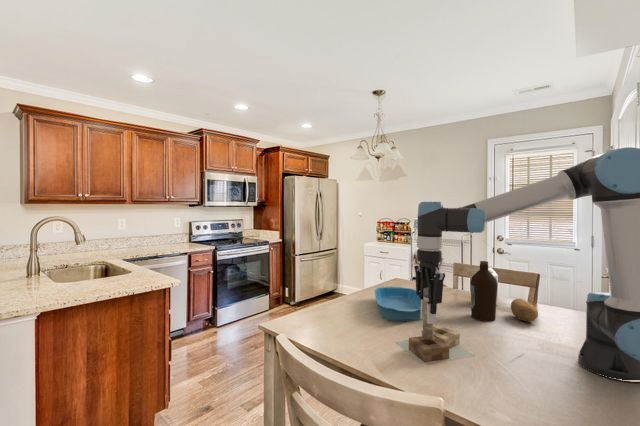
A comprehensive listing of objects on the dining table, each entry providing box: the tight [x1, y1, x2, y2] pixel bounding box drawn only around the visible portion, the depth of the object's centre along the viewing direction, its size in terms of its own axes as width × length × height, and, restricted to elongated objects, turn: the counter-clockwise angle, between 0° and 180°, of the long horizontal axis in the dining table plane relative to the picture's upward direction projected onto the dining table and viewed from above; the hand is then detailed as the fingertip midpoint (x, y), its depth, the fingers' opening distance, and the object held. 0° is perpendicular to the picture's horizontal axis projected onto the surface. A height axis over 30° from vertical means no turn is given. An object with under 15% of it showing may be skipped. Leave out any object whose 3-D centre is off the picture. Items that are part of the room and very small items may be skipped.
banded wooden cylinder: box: [422, 288, 434, 340], centre depth 102 cm, size 3×3×16 cm
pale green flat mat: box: [395, 339, 476, 365], centre depth 106 cm, size 16×20×1 cm
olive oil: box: [469, 260, 499, 322], centre depth 138 cm, size 11×11×25 cm
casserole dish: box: [374, 286, 421, 323], centre depth 147 cm, size 37×22×7 cm, turn 174°
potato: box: [510, 298, 539, 323], centre depth 135 cm, size 10×14×8 cm
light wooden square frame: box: [421, 324, 461, 349], centre depth 110 cm, size 9×9×4 cm
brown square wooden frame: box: [408, 335, 449, 363], centre depth 102 cm, size 9×9×4 cm
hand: (427, 320), depth 102 cm, fingers closed on banded wooden cylinder, 3 cm apart
